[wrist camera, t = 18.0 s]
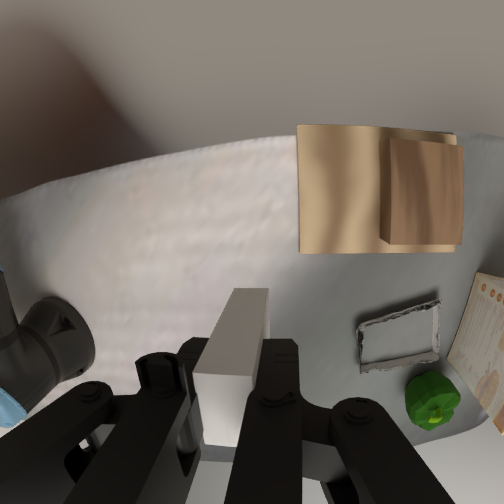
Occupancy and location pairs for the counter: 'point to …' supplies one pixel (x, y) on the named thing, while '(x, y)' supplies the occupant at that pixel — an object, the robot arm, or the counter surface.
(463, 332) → the coffeecake box
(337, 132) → the light wood board
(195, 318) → the counter surface
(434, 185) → the walnut slab
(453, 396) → the bell pepper
